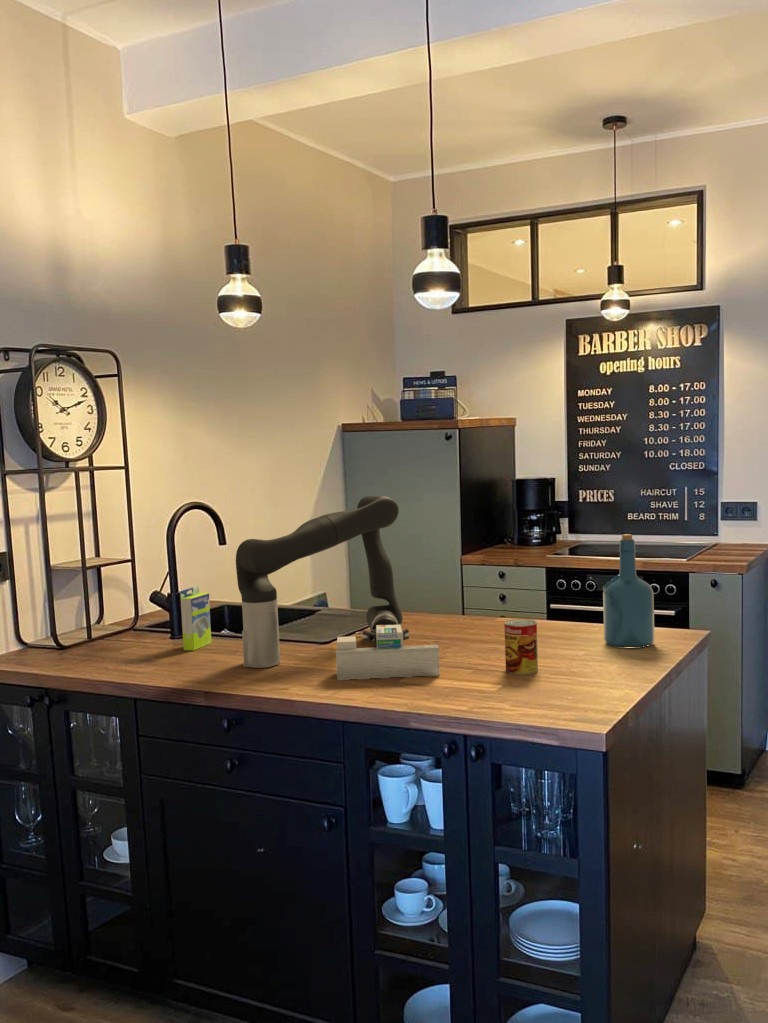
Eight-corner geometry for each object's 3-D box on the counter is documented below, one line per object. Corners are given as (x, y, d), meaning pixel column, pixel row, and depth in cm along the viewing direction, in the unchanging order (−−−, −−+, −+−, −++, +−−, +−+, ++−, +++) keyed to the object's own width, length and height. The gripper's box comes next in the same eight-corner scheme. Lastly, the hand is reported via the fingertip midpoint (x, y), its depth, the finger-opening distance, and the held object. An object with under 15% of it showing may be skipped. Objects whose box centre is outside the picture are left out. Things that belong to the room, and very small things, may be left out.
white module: (338, 678, 223) (336, 642, 222) (339, 671, 229) (337, 636, 229) (357, 677, 223) (355, 641, 222) (357, 670, 229) (355, 635, 229)
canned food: (500, 668, 226) (498, 621, 225) (527, 664, 229) (526, 618, 228) (515, 676, 218) (514, 626, 218) (544, 671, 221) (542, 623, 220)
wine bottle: (663, 642, 247) (661, 533, 245) (639, 651, 237) (637, 538, 235) (618, 636, 256) (615, 531, 254) (593, 645, 247) (591, 535, 245)
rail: (337, 681, 220) (335, 652, 219) (338, 672, 229) (337, 643, 228) (439, 677, 220) (438, 647, 219) (437, 667, 229) (436, 639, 229)
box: (194, 651, 260) (190, 591, 258) (181, 650, 261) (178, 591, 260) (212, 643, 270) (209, 585, 268) (200, 642, 271) (197, 585, 270)
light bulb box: (405, 675, 223) (403, 632, 223) (378, 676, 223) (376, 633, 223) (403, 664, 234) (401, 623, 233) (377, 665, 234) (375, 624, 233)
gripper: (360, 616, 250) (360, 628, 233) (408, 614, 251) (411, 626, 233) (361, 642, 251) (361, 657, 234) (409, 640, 251) (412, 655, 234)
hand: (386, 642), depth 234 cm, fingers closed
